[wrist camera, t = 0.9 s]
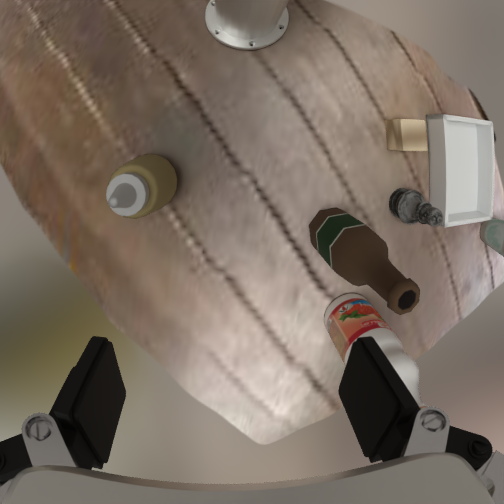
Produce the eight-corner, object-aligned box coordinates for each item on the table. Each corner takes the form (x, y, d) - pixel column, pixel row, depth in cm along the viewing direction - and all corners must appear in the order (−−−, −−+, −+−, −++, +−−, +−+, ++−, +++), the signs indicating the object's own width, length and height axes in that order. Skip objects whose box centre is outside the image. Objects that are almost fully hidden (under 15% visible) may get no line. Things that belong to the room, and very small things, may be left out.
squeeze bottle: (153, 142, 41) (109, 141, 24) (192, 176, 43) (171, 197, 26) (120, 182, 42) (64, 207, 25) (158, 215, 44) (121, 258, 28)
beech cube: (384, 120, 42) (400, 118, 37) (408, 121, 42) (424, 120, 38) (387, 149, 44) (403, 150, 39) (410, 149, 44) (427, 150, 39)
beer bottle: (301, 247, 48) (360, 332, 26) (314, 201, 46) (391, 256, 23) (343, 255, 50) (419, 335, 27) (356, 212, 47) (448, 269, 25)
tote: (425, 115, 42) (442, 114, 37) (476, 121, 42) (492, 121, 38) (428, 219, 49) (444, 227, 44) (476, 213, 49) (492, 219, 45)
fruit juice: (313, 325, 54) (368, 447, 28) (340, 284, 52) (421, 395, 25) (350, 339, 56) (412, 446, 30) (376, 301, 54) (458, 401, 28)
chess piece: (394, 181, 46) (437, 194, 35) (418, 193, 47) (461, 209, 36) (382, 212, 48) (422, 233, 36) (407, 223, 49) (447, 245, 37)
